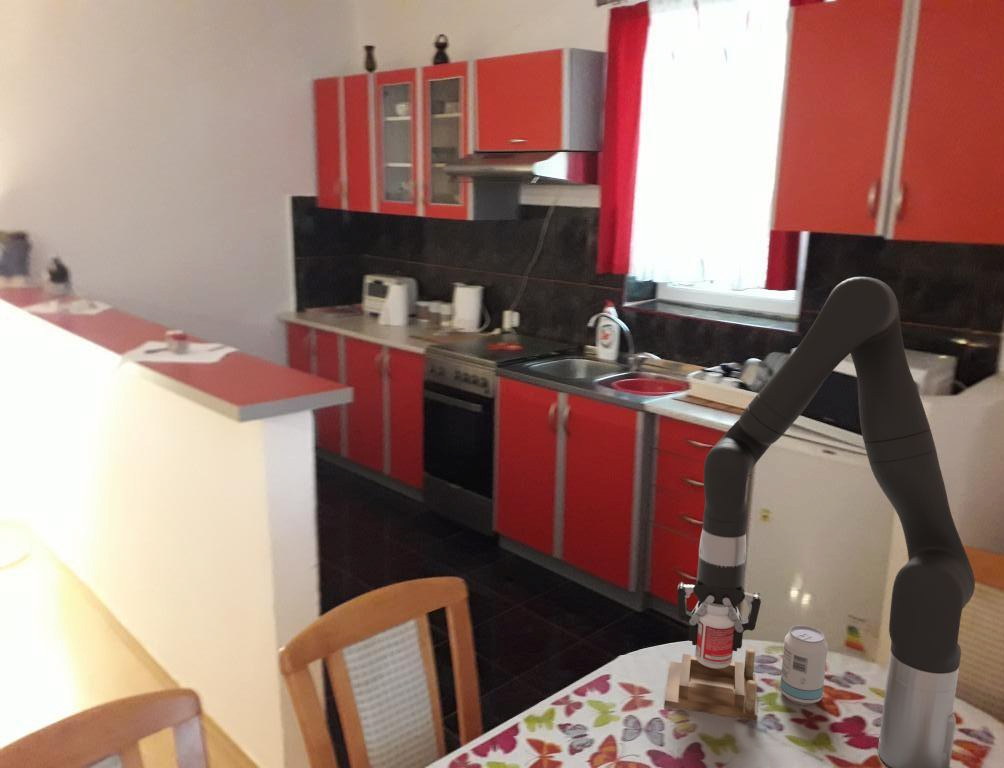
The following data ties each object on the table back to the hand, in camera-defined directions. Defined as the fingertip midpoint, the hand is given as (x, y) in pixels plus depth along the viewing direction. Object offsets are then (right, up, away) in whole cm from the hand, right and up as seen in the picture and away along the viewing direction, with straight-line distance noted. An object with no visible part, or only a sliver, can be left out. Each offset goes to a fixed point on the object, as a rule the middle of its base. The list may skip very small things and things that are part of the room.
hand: (714, 645), depth 142 cm
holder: (0, -9, +2) cm, 9 cm away
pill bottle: (0, -3, +1) cm, 3 cm away
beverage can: (+15, -9, +1) cm, 18 cm away
